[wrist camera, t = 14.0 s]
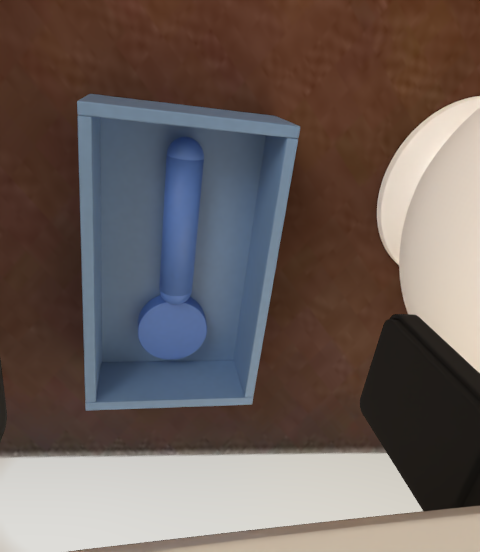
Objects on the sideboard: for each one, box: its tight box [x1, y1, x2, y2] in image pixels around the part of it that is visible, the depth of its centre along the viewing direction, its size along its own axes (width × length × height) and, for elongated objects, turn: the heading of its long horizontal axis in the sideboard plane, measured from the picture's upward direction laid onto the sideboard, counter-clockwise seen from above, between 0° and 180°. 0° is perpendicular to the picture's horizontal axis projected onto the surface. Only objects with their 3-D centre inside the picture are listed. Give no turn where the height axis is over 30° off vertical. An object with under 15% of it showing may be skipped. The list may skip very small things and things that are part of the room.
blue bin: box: [77, 94, 300, 410], centre depth 25 cm, size 17×10×5 cm, turn 173°
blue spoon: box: [138, 137, 207, 360], centre depth 26 cm, size 14×4×2 cm, turn 173°
